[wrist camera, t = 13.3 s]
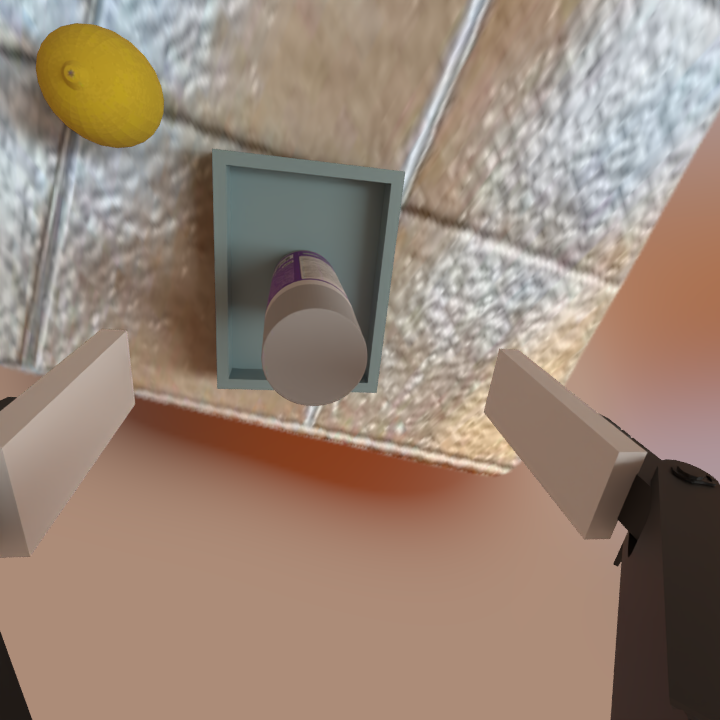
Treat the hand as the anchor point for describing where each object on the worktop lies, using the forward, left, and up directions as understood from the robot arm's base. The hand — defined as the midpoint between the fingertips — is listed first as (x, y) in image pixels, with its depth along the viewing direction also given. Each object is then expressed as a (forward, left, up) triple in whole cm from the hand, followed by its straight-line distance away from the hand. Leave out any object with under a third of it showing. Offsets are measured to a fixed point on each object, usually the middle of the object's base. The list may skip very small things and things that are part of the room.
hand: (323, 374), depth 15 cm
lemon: (-10, -11, -19) cm, 24 cm away
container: (0, 0, -18) cm, 18 cm away
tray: (0, 0, -19) cm, 19 cm away
